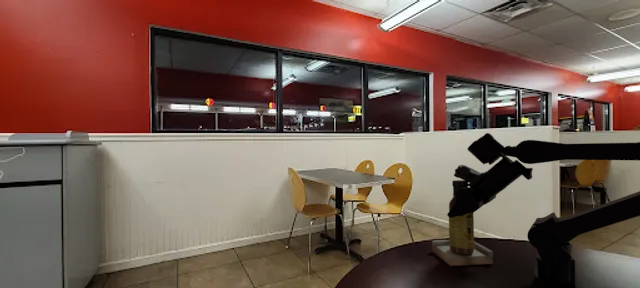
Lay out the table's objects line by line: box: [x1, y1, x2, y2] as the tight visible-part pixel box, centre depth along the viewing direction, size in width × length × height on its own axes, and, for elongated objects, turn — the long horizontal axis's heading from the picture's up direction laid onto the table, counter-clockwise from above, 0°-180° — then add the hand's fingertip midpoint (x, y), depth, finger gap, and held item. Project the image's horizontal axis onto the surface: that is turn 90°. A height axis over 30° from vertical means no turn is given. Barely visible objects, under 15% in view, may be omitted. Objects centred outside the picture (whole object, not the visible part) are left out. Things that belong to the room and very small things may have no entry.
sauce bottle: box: [448, 179, 475, 255], centre depth 79 cm, size 6×6×20 cm
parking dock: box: [431, 239, 494, 267], centre depth 80 cm, size 12×10×3 cm
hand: (454, 213), depth 80 cm, fingers open, 9 cm apart
